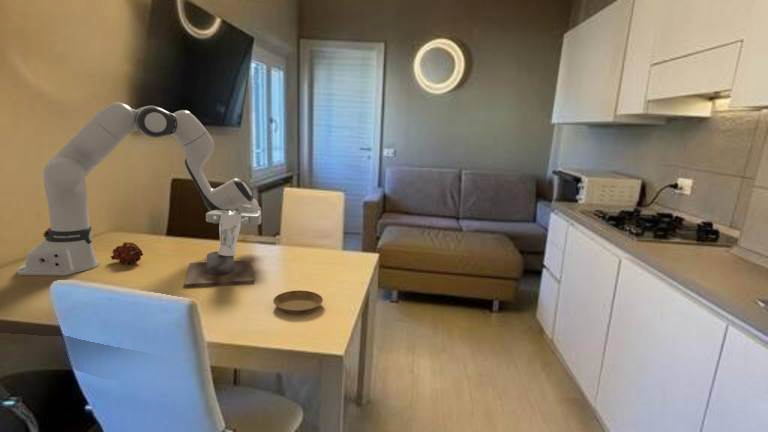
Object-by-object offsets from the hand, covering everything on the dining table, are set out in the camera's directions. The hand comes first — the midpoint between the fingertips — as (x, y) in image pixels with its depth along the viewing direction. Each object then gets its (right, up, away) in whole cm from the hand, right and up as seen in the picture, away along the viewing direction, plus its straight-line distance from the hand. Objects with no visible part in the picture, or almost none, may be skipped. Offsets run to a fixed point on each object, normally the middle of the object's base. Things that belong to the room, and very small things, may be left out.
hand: (227, 221), depth 159 cm
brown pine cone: (-38, -15, +2) cm, 41 cm away
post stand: (-1, -19, -4) cm, 19 cm away
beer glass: (+2, -12, -5) cm, 13 cm away
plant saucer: (+31, -26, -27) cm, 49 cm away
